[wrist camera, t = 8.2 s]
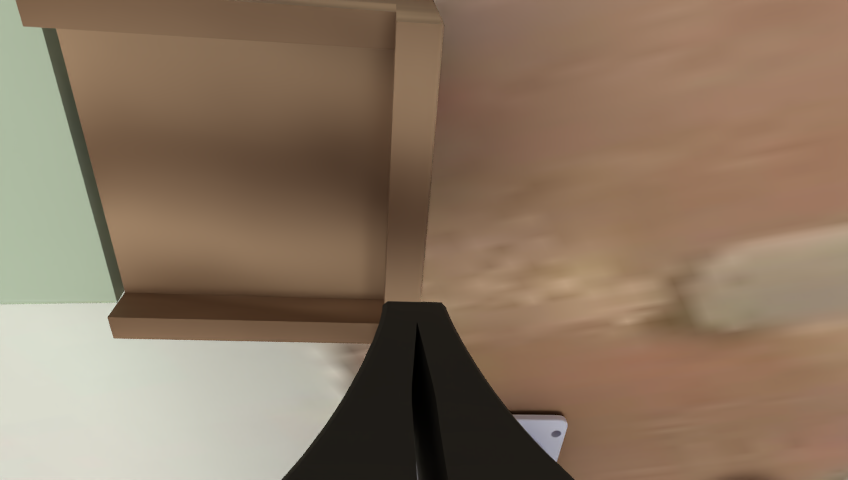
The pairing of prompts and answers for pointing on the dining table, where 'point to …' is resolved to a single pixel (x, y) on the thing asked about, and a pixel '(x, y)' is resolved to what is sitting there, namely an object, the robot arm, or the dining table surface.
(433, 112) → the tray
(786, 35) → the dining table surface
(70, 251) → the panel
